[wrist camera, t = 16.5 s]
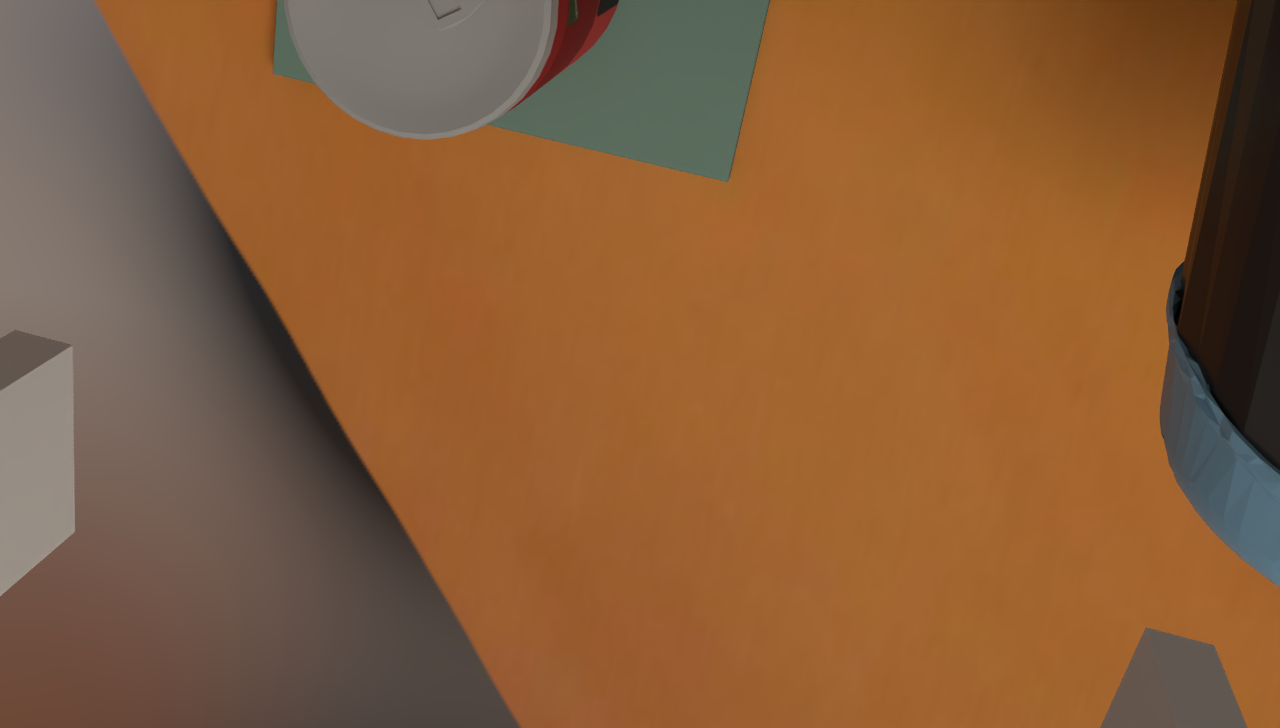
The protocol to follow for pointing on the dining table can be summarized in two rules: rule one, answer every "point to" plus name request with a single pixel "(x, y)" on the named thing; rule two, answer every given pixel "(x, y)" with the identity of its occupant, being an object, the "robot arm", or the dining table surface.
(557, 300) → the dining table surface
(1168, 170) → the dining table surface
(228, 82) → the dining table surface
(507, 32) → the canned food
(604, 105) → the green mat
